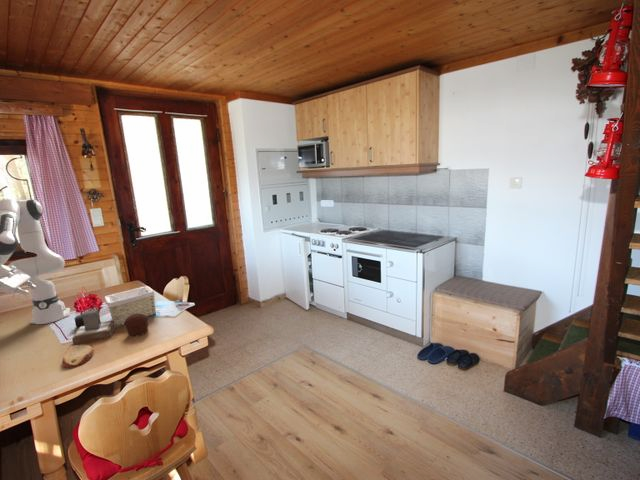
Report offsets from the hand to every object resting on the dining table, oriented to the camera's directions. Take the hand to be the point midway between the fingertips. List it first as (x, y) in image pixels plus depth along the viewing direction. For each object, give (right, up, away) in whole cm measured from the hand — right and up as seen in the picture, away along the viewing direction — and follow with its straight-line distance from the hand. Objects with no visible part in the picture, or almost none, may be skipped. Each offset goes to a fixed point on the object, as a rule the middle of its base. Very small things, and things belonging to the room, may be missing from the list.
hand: (31, 290), depth 164 cm
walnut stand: (+23, -26, +12) cm, 37 cm away
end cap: (+9, -24, +26) cm, 37 cm away
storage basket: (+31, -21, +35) cm, 51 cm away
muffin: (+45, -24, +13) cm, 53 cm away
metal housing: (+23, -21, +11) cm, 33 cm away
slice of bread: (+28, -30, -8) cm, 42 cm away
